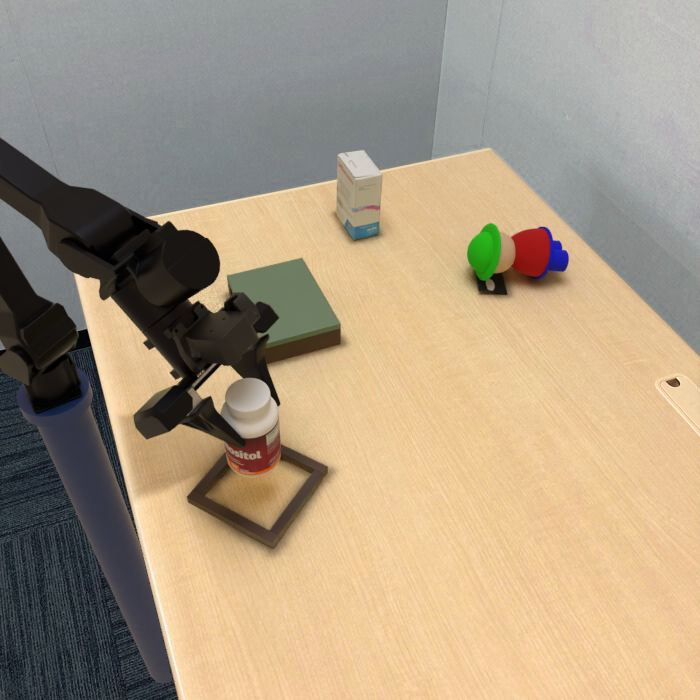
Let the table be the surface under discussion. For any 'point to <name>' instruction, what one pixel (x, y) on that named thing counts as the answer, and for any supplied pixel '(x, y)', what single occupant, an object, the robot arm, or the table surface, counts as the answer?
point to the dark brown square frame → (245, 524)
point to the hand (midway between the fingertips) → (260, 426)
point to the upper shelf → (290, 308)
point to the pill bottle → (252, 427)
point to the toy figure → (513, 255)
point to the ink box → (358, 194)
